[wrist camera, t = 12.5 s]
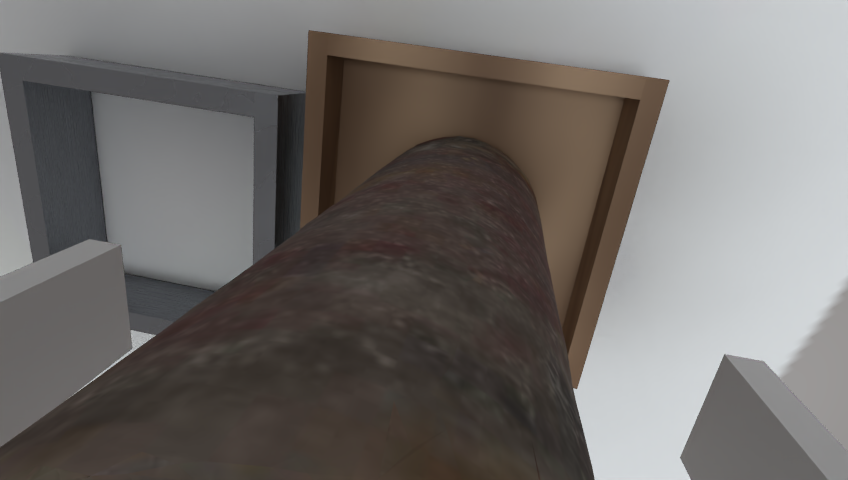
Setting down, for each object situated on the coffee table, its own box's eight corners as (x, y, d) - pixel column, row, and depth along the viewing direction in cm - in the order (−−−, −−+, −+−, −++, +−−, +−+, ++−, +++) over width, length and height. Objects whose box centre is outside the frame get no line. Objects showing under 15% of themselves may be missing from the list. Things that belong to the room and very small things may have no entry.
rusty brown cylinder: (344, 208, 23) (-365, 828, 4) (448, 92, 20) (-147, 298, 2) (458, 312, 24) (309, 1205, 5) (570, 213, 21) (1126, 1252, 2)
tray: (317, 304, 26) (295, 332, 23) (333, 36, 21) (308, 30, 18) (567, 352, 24) (577, 388, 22) (645, 79, 20) (669, 80, 17)
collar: (96, 283, 27) (41, 311, 24) (68, 55, 23) (-3, 52, 20) (299, 323, 26) (271, 359, 23) (310, 92, 22) (277, 95, 19)
